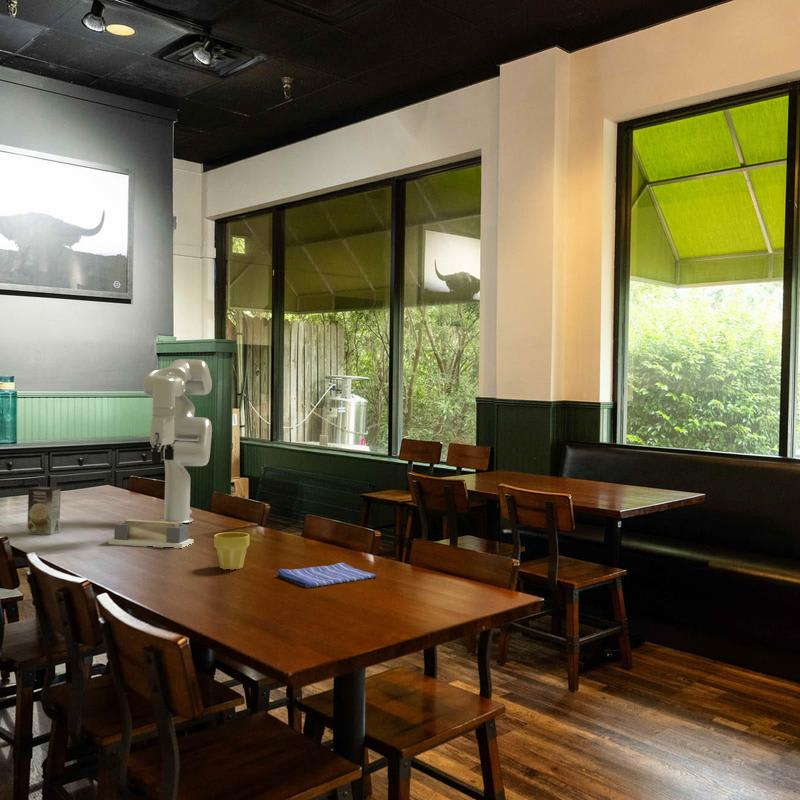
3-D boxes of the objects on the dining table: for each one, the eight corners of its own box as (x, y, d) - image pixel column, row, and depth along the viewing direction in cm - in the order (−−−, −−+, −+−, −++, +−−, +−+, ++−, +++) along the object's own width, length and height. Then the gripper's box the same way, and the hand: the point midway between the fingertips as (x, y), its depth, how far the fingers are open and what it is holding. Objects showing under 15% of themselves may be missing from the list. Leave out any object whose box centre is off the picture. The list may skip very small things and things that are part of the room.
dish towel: (274, 578, 230) (274, 568, 230) (343, 568, 245) (343, 559, 245) (306, 590, 217) (306, 580, 216) (377, 580, 231) (377, 570, 231)
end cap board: (121, 539, 277) (122, 520, 277) (193, 543, 273) (193, 524, 273) (108, 544, 268) (108, 524, 268) (182, 548, 264) (182, 528, 264)
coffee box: (26, 534, 282) (27, 488, 282) (36, 530, 288) (37, 486, 288) (51, 535, 281) (52, 489, 281) (60, 532, 287) (61, 487, 287)
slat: (128, 537, 274) (128, 519, 273) (178, 540, 271) (178, 522, 271) (124, 538, 271) (125, 520, 271) (175, 541, 268) (175, 523, 268)
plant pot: (211, 564, 243) (212, 532, 242) (246, 563, 246) (247, 531, 246) (214, 572, 233) (215, 538, 233) (250, 570, 236) (251, 537, 236)
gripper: (164, 410, 290) (163, 458, 291) (141, 413, 273) (141, 463, 274) (184, 411, 289) (183, 459, 290) (162, 414, 272) (161, 465, 273)
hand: (162, 461), depth 282 cm, fingers open, 9 cm apart
